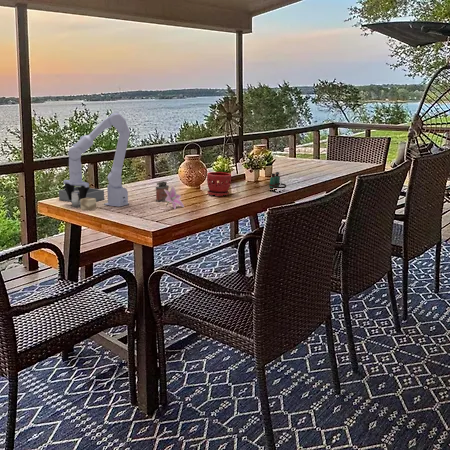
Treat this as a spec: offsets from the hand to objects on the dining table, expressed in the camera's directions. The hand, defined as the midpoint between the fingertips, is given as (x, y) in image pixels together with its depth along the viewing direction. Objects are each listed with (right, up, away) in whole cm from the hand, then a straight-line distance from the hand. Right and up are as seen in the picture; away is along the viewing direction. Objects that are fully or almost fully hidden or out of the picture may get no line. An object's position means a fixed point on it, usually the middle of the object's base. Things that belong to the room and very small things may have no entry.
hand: (76, 200), depth 249 cm
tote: (-2, +1, +14) cm, 14 cm away
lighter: (+39, +1, +16) cm, 42 cm away
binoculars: (+102, +7, +46) cm, 112 cm away
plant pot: (+68, +4, +33) cm, 76 cm away
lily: (+46, -3, +2) cm, 46 cm away
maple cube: (+7, -4, -5) cm, 10 cm away
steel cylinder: (0, -3, +1) cm, 3 cm away
